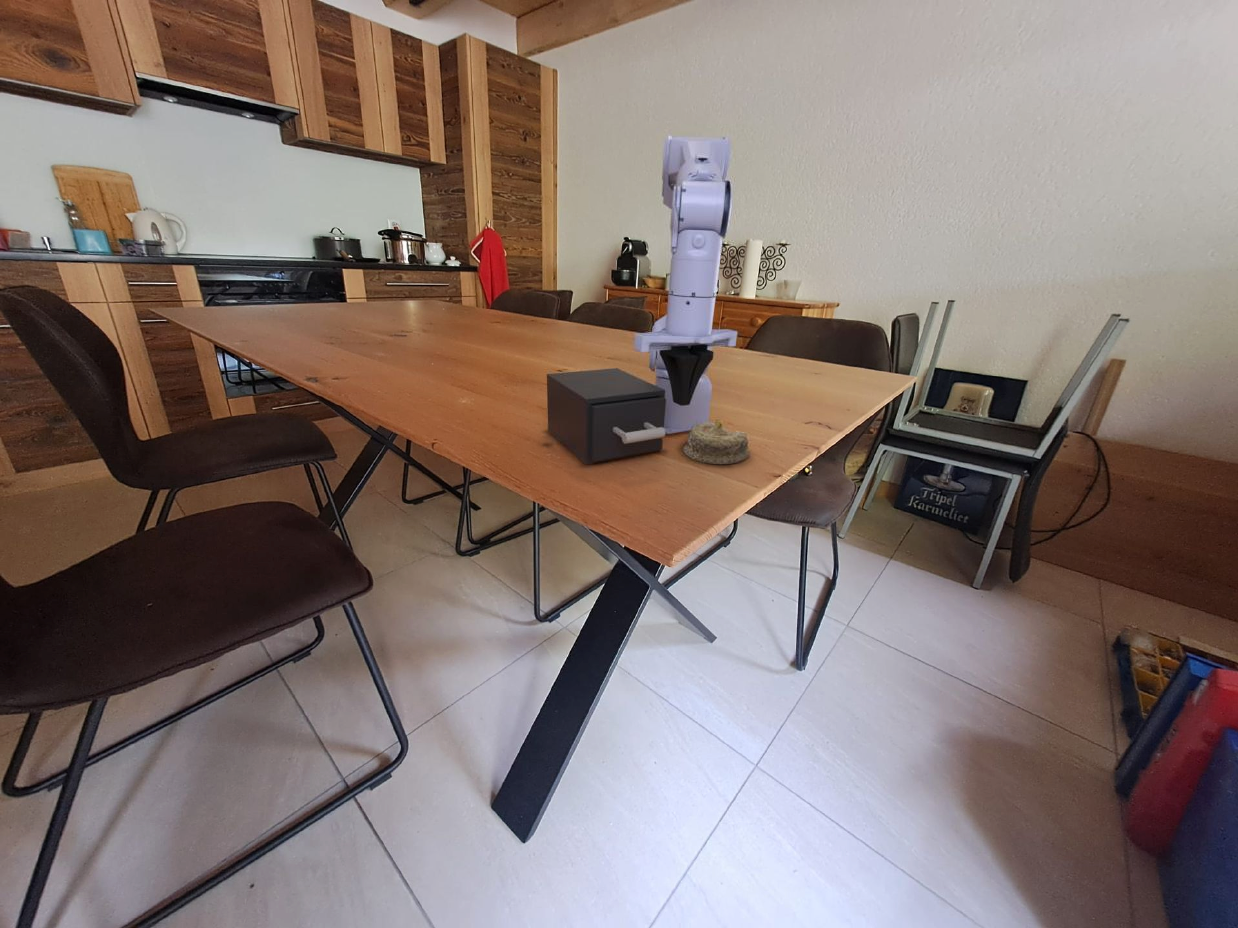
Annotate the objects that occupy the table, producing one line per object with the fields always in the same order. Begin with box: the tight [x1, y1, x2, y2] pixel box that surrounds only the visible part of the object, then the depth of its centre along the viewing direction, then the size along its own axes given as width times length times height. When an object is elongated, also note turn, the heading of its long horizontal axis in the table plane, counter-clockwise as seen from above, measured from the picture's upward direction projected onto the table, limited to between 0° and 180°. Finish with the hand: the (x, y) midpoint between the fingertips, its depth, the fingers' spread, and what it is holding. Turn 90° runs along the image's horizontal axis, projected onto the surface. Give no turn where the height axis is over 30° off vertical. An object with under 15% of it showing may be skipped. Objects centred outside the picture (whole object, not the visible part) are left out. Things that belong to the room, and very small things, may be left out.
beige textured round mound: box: [683, 419, 750, 465], centre depth 71 cm, size 10×10×5 cm
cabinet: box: [546, 367, 665, 466], centre depth 73 cm, size 15×13×10 cm
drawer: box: [590, 397, 666, 462], centre depth 70 cm, size 18×11×8 cm, turn 29°
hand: (681, 403), depth 63 cm, fingers closed
